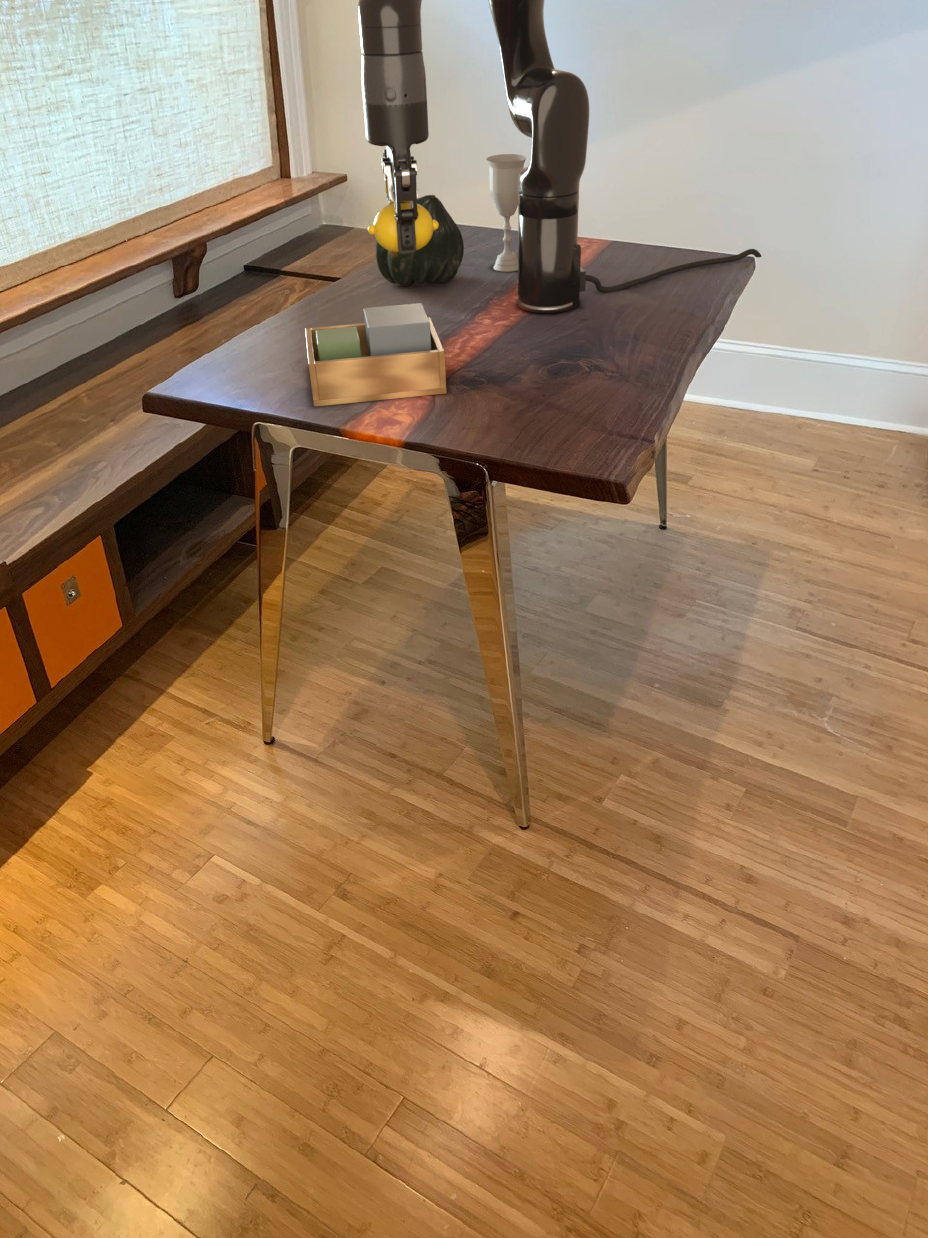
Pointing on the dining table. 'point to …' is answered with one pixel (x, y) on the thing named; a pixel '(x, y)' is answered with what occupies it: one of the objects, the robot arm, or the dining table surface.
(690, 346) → the dining table surface
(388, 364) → the crate
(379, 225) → the lemon
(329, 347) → the block sage
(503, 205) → the chalice
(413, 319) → the block grey
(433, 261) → the squash
